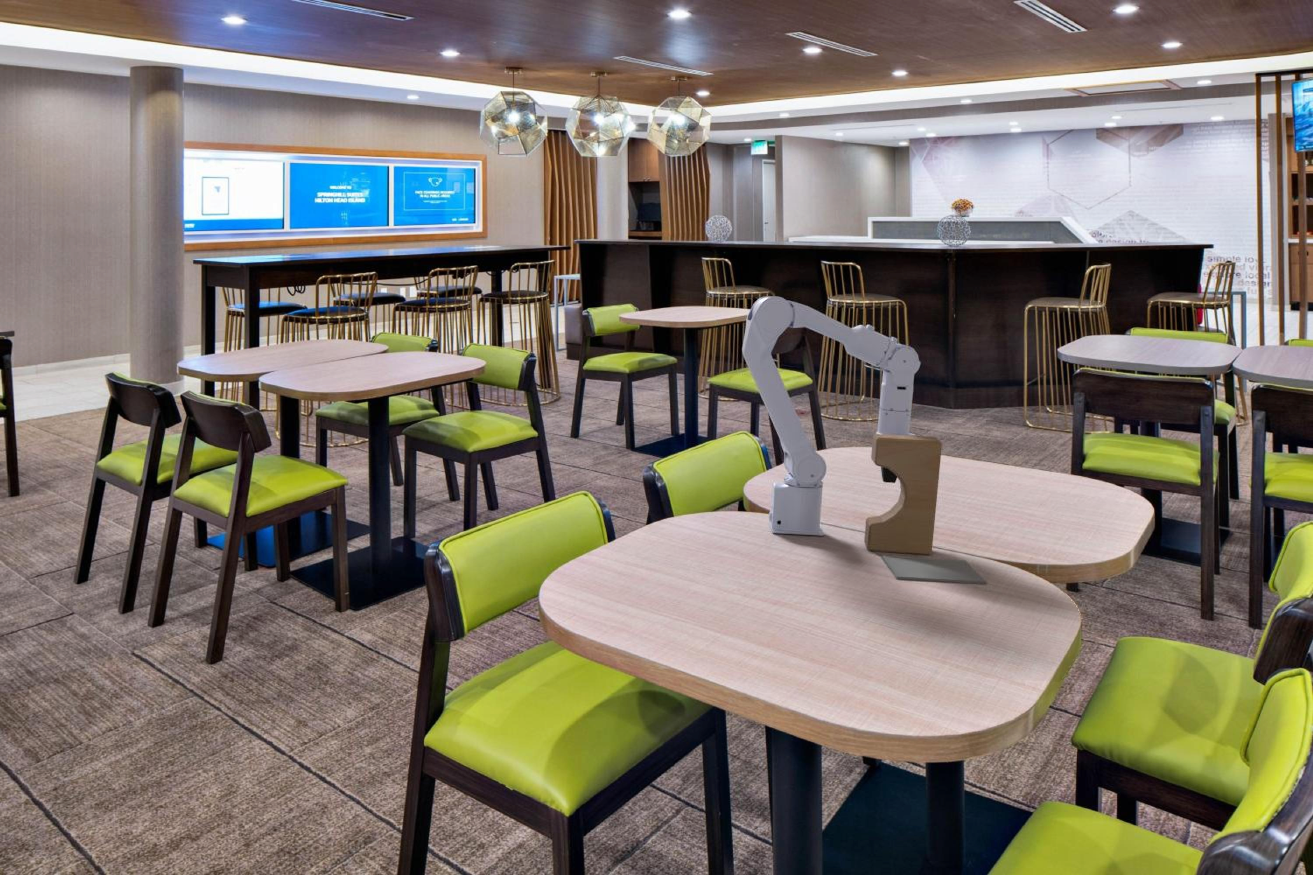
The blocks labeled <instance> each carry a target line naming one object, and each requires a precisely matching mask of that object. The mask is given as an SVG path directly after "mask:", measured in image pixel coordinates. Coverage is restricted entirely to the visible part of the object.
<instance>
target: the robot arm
mask: <svg viewBox="0 0 1313 875" xmlns="http://www.w3.org/2000/svg"><path fill="white" fill-rule="evenodd" d="M787 328H792V329H795V328H796V329H797V328H806V329H809V330H812V331H813V332H816V333H818V334H821V335H823V336H825V337H827V338H829V339H832V340H835V341H837V342H839V343H842V345H843V346H844V349H845V352H846V353H847V354H848V355H849V356H852V357H854V358H857V359H858V360H861V361H862V362H865V363H868V364H870V365H871V366H873V367H876V368H880V369H881V370H882V381H881V386H880V395H879V396H880V399H879V409H878V419H877V420H878V421H877V422H878V423H877V431H876V432H875V434H889V435H906V436H917V435H916V434H915V433H910V429H911V428H910V427H911V419H912V407H913V406H912V405H913V395H914V394H913V393H914V379H915V374H916V373H917V372H918V371H919V369H920V366H921V363H922V362H921V361H920V359H919V358H920V357H919V354H918V353H917V352H916V350H915V349H914V348H913V347H911V346H910V345H906V344H901V343H900V342H898V340H899V339H898V338H896V337H894V336H891V337H888V336H886V335H884V334H882V333H879V332H878V331H876V330H875V329H876V327H875V326H872V325H871V324H867V325H866V326H865V325H863V324H858V325H856V326H853V327H850V326H847V325H846V324H844V323H842V322H840V321H838V320H836V319H834V318H832V317H829V316H828V315H826V314H824V313H822V312H820V311H819V310H816V309H815V308H813V307H810V306H808V305H805V304H802V303H799V302H797V301H791V300H787V299H785V298H784V297H781V296H771V295H770V296H768V295H766V296H761V297H760V298H758V299H757V300H756V301H755V302H754V303H753V305H752V307H751V308H750V310H749V312H748V314H747V316H746V324H745V328H744V331H745V332H744V335H743V336H744V337H743V342H742V343H743V344H742V348H741V351H742V356H743V358H744V360H745V363H746V365H747V368H748V369H749V372H750V374H751V376H752V379H753V382H754V383H755V386H756V388H757V391H758V392H759V395H760V397H761V400H762V401H763V404H764V406H765V408H766V410H767V413H768V416H769V418H770V419H771V422H772V423H773V427H774V429H775V431H776V433H777V436H778V437H779V442H780V446H781V448H782V450H783V453H784V454H783V455H784V456H783V465H784V467H785V470H786V471H787V472H788V473H787V474H786V475H785V477H784V478H783V482H773V483H772V485H771V494H770V508H769V513H768V525H769V527H770V529H771V532H772V533H773V534H787V535H801V536H802V535H803V536H804V535H805V536H806V535H807V536H821V537H822V536H824V535H825V532H824V531H823V529H822V527H821V516H822V515H821V513H822V502H823V500H822V499H823V488H824V487H823V485H824V482H823V481H822V480H823V479H824V478H825V476H826V474H827V464H826V461H825V459H824V458H823V456H821V455H820V453H818V452H816V450H815V449H814V447H813V445H812V444H813V443H812V442H811V440H810V439H809V436H807V434H806V432H805V429H804V427H803V425H802V423H801V421H800V420H801V419H800V418H799V415H798V414H797V411H796V409H795V407H794V404H793V402H792V399H791V398H790V395H789V393H788V391H787V388H786V386H785V384H784V381H783V379H782V377H781V374H780V372H779V370H778V367H777V365H776V363H775V361H774V358H773V355H772V351H773V350H774V347H775V345H776V343H777V340H778V338H779V337H780V335H782V334H783V333H784V331H785V330H787ZM880 471H881V472H880V474H881V479H882V482H884V483H890V484H895V483H896V481H897V479H898V477H897V476H896V475H895V474H894V473H893V472H892V471H890V470H889V469H887V468H884V467H880Z"/></svg>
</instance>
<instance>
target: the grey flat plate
mask: <svg viewBox="0 0 1313 875" xmlns="http://www.w3.org/2000/svg"><path fill="white" fill-rule="evenodd" d="M881 559H882V561H883V562H884V564H885V565H886V566H887V567H888V569H889V571H890V572H891V574H892V575H893V576H894V577H895V580H907V581H908V580H909V581H911V580H912V581H923V582H924V581H925V582H941V583H942V582H943V583H956V584H957V583H961V584H962V583H963V584H976V585H977V584H979V585H987V584H988V580H986V579H985V578H984V577H983V576H982V575H981V574H980V573H979V572H977V570H976V569H974V567H972V566H971V565H970V564H969V563H968V562H967V561H966V560H960V559H943V558H927V557H926V558H924V557H909V556H893V555H892V556H890V555H881Z"/></svg>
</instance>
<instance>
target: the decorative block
mask: <svg viewBox="0 0 1313 875" xmlns="http://www.w3.org/2000/svg"><path fill="white" fill-rule="evenodd" d="M942 448H943V442H941V440H939V439H938V438H936V437H935V436H922V435H921V436H920V435H916V436H906V435H889V434H876V433H874V434H873V435H872V444H871V455H870V458H871V460H872V462H873V463H874V464H875V466H877V467H880V468H881V467H884V468H887V469H889V470H890V471H892V472H893V473H894V474H895V475H896V476H897V479H898V480H899V485H900V494H899V496H898V501H897V502H896V503H894V505H893V506H892V507H891V508H890V509H889V510H888V511H886V512H884V513H883V514H880V515H877V516H868V517H867V518H866V519H865V528H864V530H865V531H864V538H863V539H864V541H863V542H864V545H865V547H866V549H867V550H868V551H869V552H880V553H881V552H882V553H894V554H895V553H896V554H906V555H907V554H909V555H922V556H931V554H933V546H934V545H933V544H934V531H935V521H936V511H937V510H936V509H937V502H938V491H939V480H940V469H941V458H942V457H941V456H942V450H943V449H942Z"/></svg>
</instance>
